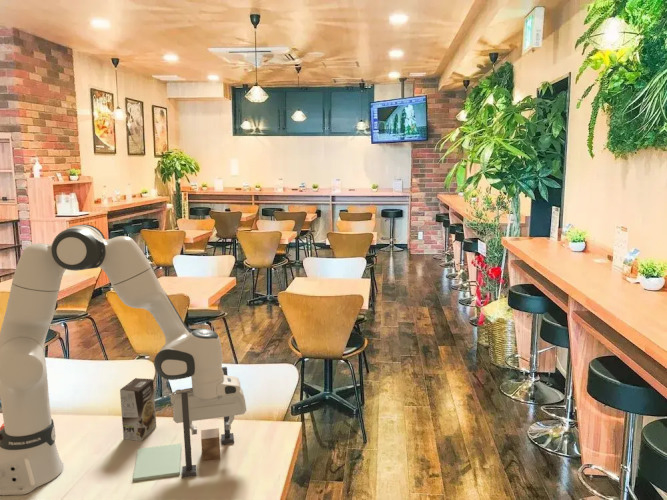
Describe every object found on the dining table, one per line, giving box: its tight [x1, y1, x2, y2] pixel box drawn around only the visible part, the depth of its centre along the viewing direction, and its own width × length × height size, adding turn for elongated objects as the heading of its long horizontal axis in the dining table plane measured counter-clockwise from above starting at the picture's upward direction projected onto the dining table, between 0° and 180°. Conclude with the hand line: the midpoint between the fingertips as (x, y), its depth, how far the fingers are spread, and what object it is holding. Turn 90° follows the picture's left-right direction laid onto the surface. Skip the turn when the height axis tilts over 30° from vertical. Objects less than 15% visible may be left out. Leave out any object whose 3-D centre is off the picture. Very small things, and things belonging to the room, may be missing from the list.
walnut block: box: [200, 427, 221, 463], centre depth 160 cm, size 5×5×7 cm
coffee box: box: [119, 377, 157, 442], centre depth 172 cm, size 9×6×16 cm
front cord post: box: [181, 392, 197, 479], centre depth 150 cm, size 4×4×23 cm
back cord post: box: [220, 366, 235, 445], centre depth 166 cm, size 4×4×23 cm
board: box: [132, 443, 182, 482], centre depth 157 cm, size 12×15×1 cm
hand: (211, 431), depth 160 cm, fingers open, 8 cm apart
